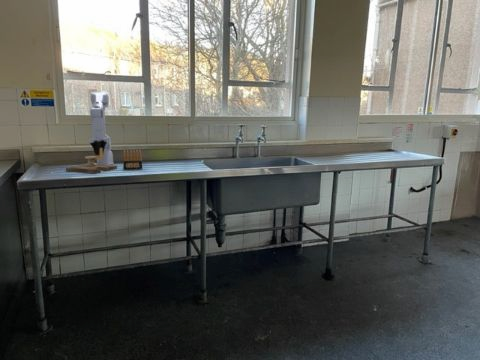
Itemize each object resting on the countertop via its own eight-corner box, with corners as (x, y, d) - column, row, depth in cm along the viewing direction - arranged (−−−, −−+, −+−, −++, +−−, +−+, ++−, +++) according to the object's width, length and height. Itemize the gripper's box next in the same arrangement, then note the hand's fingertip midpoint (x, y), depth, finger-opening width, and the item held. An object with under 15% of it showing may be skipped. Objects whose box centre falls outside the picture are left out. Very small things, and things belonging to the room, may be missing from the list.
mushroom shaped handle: (90, 164, 212) (90, 155, 211) (99, 164, 210) (98, 156, 209) (83, 165, 206) (82, 157, 205) (91, 166, 204) (91, 157, 203)
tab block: (98, 158, 201) (97, 147, 200) (103, 158, 200) (102, 147, 199) (95, 158, 198) (94, 148, 197) (99, 159, 197) (99, 148, 196)
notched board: (89, 166, 216) (89, 163, 216) (116, 168, 210) (116, 165, 210) (66, 170, 200) (65, 167, 199) (95, 173, 193) (95, 170, 193)
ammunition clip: (142, 168, 212) (141, 148, 210) (142, 169, 211) (141, 148, 208) (123, 169, 209) (122, 148, 207) (123, 169, 207) (122, 149, 205)
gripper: (99, 129, 204) (100, 152, 206) (82, 130, 190) (84, 155, 193) (110, 129, 202) (111, 153, 205) (94, 130, 188) (96, 156, 191)
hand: (99, 154), depth 199 cm, fingers closed on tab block, 3 cm apart
